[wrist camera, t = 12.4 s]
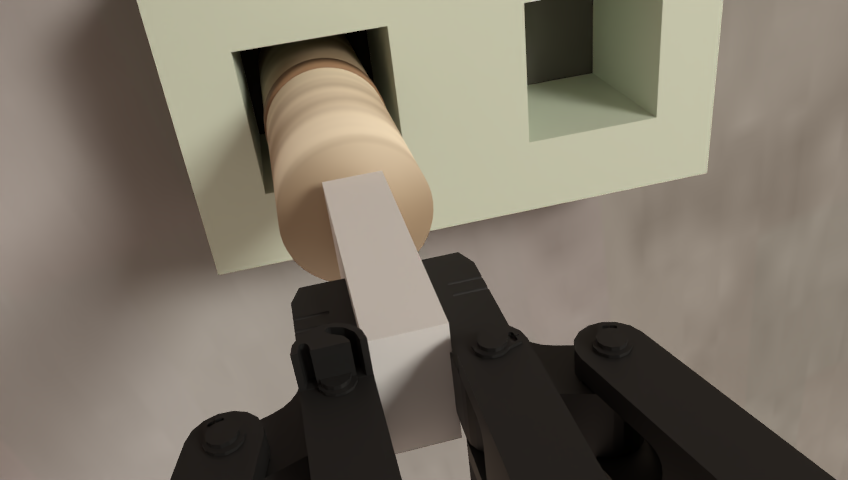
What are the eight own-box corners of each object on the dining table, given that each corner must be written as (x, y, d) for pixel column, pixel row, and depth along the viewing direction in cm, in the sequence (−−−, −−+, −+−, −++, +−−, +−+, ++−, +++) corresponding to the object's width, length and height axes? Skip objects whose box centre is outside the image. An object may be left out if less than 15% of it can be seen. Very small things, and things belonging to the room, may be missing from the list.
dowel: (246, 25, 30) (259, 160, 18) (347, 7, 30) (426, 127, 18) (269, 121, 32) (294, 300, 20) (363, 103, 32) (442, 267, 20)
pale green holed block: (146, -58, 28) (127, -30, 22) (649, -131, 30) (734, -121, 25) (219, 205, 33) (218, 275, 28) (638, 122, 36) (706, 173, 31)
